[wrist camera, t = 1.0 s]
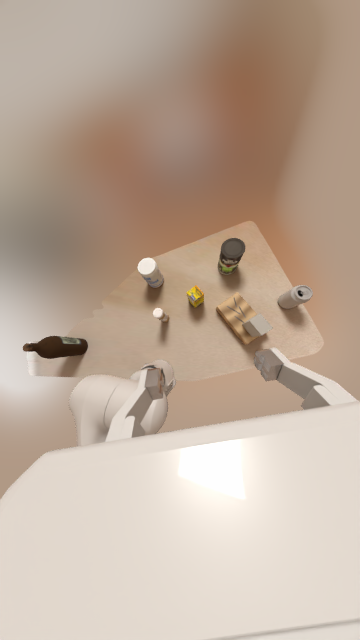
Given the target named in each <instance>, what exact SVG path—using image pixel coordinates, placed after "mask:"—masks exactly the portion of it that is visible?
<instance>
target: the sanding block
mask: <svg viewBox="0 0 360 640" xmlns="http://www.w3.org/2000/svg"><path fill="white" fill-rule="evenodd" d="M242 326H243V327H244V328H245V329H246V330H247V332H248V333H249V334H250V335H251V337H256V336H262V335H264V334H265V333H267V332H268V331H269V330H271V329H272V328H273V327H272V326H271V325H270V324H269V323H268V322H267V320H266V319H265V318H264V317H263V316H262V315H261V314H258V315H256V316H254V317H252V318H250V319H249V320H247V321H246V322H244V323H243V324H242Z"/></svg>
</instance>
